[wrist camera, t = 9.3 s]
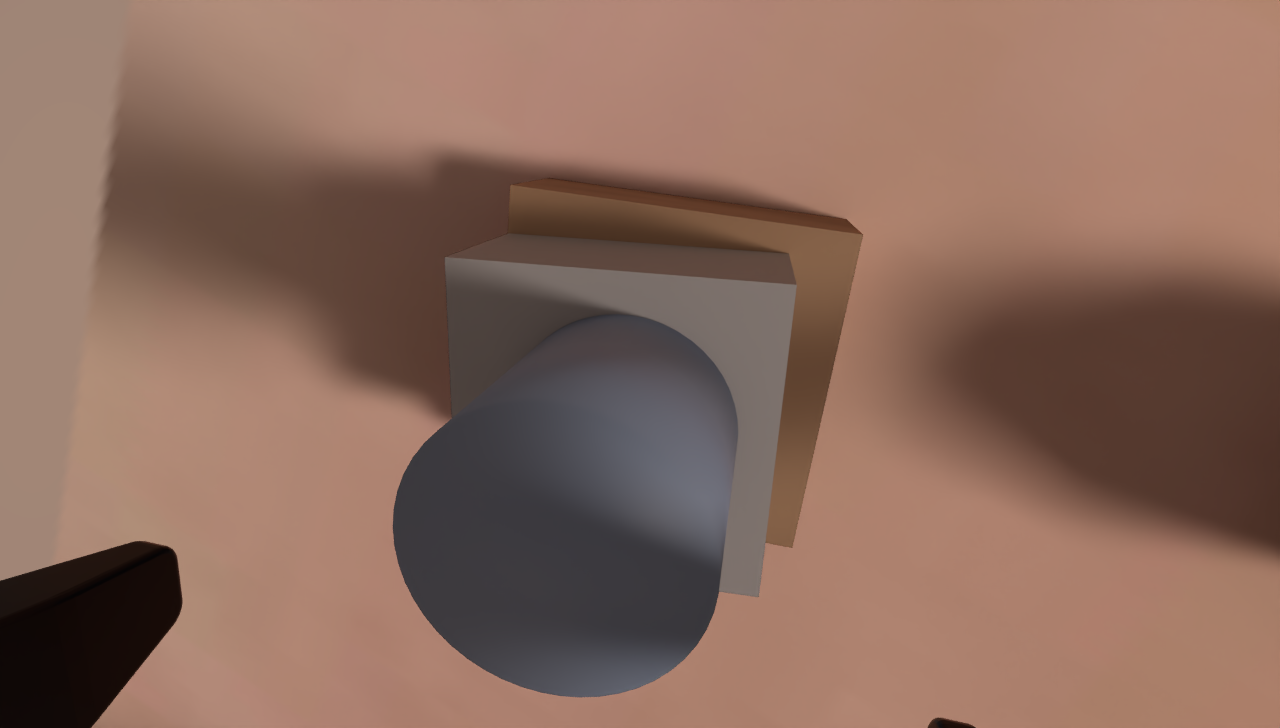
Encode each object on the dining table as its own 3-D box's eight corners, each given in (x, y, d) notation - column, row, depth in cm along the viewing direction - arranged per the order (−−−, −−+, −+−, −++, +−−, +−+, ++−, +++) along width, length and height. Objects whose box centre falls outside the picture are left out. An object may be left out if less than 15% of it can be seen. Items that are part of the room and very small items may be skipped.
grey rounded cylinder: (720, 548, 14) (695, 728, 9) (506, 506, 14) (395, 658, 10) (755, 333, 12) (745, 434, 8) (516, 298, 13) (390, 374, 9)
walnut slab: (787, 483, 21) (792, 548, 17) (533, 436, 22) (493, 489, 18) (844, 217, 18) (862, 234, 15) (553, 177, 19) (509, 185, 16)
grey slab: (759, 510, 17) (758, 597, 14) (512, 479, 18) (457, 554, 15) (788, 253, 15) (796, 284, 12) (509, 233, 16) (444, 257, 13)
